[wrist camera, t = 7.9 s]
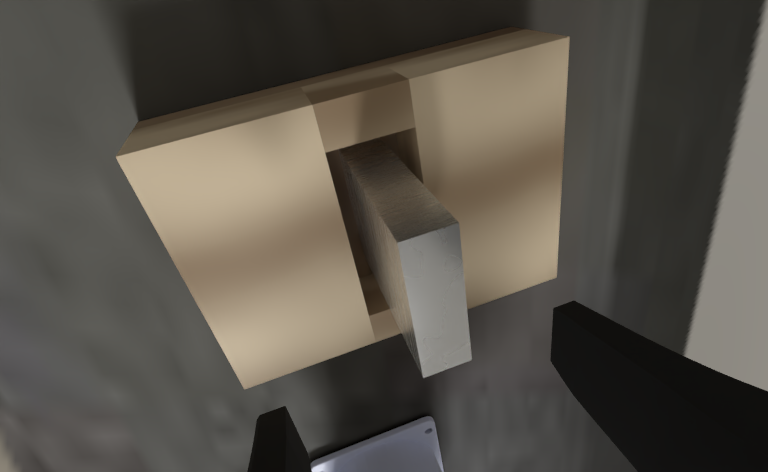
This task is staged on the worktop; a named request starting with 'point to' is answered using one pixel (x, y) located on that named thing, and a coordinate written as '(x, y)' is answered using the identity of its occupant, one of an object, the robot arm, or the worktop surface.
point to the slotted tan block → (331, 197)
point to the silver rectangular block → (410, 254)
